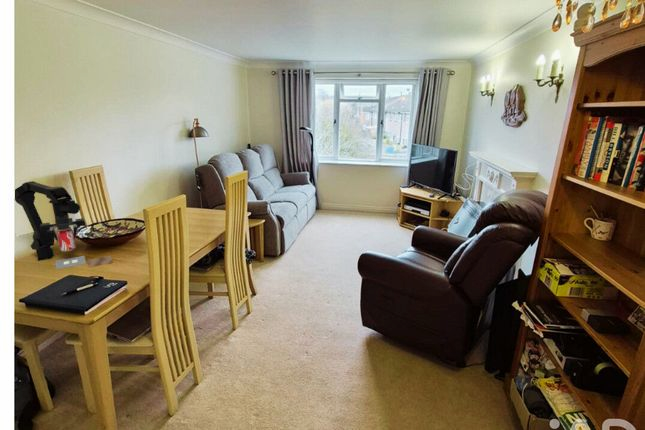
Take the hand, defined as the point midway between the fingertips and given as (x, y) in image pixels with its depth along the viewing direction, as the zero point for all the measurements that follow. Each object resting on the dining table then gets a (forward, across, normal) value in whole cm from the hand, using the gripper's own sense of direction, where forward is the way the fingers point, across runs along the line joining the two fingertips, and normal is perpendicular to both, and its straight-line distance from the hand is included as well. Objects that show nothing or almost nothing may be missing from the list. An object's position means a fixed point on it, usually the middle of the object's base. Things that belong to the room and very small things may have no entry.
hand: (66, 240), depth 182 cm
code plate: (+13, 0, 0) cm, 13 cm away
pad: (+13, +13, -7) cm, 20 cm away
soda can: (+6, 0, 0) cm, 6 cm away
